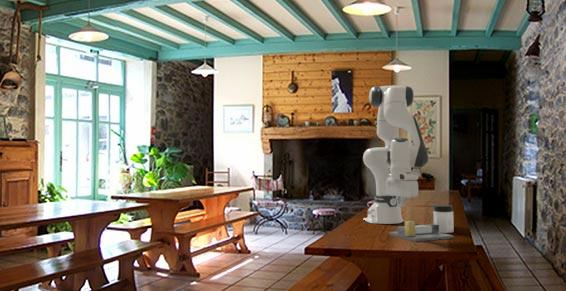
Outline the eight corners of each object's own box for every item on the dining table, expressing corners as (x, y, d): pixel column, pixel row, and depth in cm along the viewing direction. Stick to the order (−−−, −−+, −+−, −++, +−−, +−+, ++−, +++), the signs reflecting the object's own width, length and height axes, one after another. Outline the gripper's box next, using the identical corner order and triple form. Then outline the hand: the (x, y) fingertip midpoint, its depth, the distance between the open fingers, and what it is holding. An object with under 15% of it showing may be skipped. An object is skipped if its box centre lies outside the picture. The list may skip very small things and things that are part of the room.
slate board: (389, 234, 244) (389, 232, 244) (424, 231, 251) (424, 229, 251) (415, 241, 225) (415, 238, 225) (453, 238, 232) (453, 235, 232)
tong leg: (415, 234, 235) (415, 226, 235) (412, 233, 238) (412, 225, 238) (439, 232, 239) (438, 225, 239) (435, 231, 242) (435, 224, 242)
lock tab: (404, 235, 233) (404, 221, 233) (410, 234, 234) (410, 220, 234) (408, 236, 230) (408, 221, 230) (414, 235, 231) (414, 221, 231)
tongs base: (397, 233, 239) (397, 226, 239) (430, 231, 245) (430, 223, 245) (405, 235, 233) (405, 228, 234) (438, 232, 240) (438, 225, 240)
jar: (444, 233, 245) (443, 206, 245) (429, 231, 252) (429, 205, 252) (457, 231, 250) (456, 205, 250) (443, 229, 257) (442, 204, 257)
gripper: (381, 174, 247) (382, 205, 247) (408, 176, 228) (408, 209, 228) (393, 174, 249) (394, 204, 249) (420, 175, 230) (421, 208, 230)
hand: (401, 206), depth 238 cm, fingers closed
